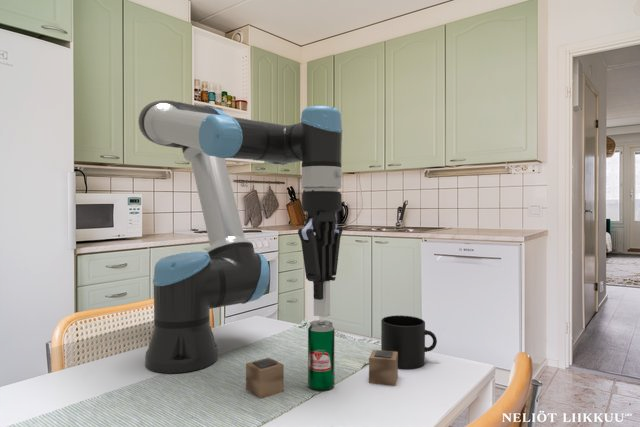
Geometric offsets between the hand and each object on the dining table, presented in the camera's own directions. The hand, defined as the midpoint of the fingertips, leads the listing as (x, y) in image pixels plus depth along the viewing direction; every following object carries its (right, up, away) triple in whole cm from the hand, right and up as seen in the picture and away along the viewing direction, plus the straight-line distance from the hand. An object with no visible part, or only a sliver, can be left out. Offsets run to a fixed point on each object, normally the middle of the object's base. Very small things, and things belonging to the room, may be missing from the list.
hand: (321, 315), depth 83 cm
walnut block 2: (+12, -14, +4) cm, 19 cm away
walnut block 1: (-11, -14, -2) cm, 17 cm away
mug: (+19, -14, +13) cm, 27 cm away
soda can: (0, -14, 0) cm, 14 cm away
